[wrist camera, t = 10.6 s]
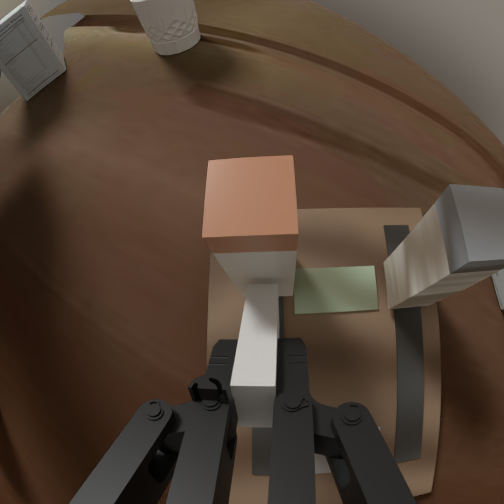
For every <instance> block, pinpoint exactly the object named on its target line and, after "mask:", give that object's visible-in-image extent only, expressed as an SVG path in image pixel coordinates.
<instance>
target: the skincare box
mask: <svg viewBox="0 0 504 504" xmlns="http://www.w3.org/2000/svg"><path fill="white" fill-rule="evenodd" d="M491 276H492V279H493V283H494V287H495V290H496V294H497V297H498V301H499V305H500V308H501V309H502V310H504V269H502V270H500V271H498V272H497V273H495V274H493V275H491Z"/></svg>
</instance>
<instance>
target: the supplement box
mask: <svg viewBox="0 0 504 504" xmlns="http://www.w3.org/2000/svg"><path fill="white" fill-rule="evenodd" d="M0 68H1V71H2V72H3V73H4V74H5V75H6V77H7V78H8V79H9V81H10V82H11V83H12V84H13V86H14V87H15V88H16V89H17V90H18V92H19V93H20V94H21V95H22V96H23V98H24V99H25V100H26V101H28V100H29V99H30V98H32V97H33V96H34V95H35V94H36V93H38V92H39V91H40V90H41V89H42V88H44V87H45V86H46V85H47V84H49V83H50V82H51V81H53V80H54V79H55V78H57V77H58V76H59V75H61V74H62V73H63V72H65V71H66V66H65V62H64V57H63V55H62V53H61V52H60V51H59V49H58V47H57V46H56V44H55V42H54V41H53V39H52V38H51V36H50V35H49V33H48V32H47V30H46V28H45V27H44V25H43V24H42V22H41V21H40V19H39V17H38V16H37V14H36V13H35V11H34V9H33V8H32V6H31V5H30V3H29V1H28V0H26V1H25V2H23V3H22V4H21V5H19V6H18V7H17V8H15V9H14V10H13V11H12V12H10V13H9V14H8V15H7V16H5V17H4V18H3V19H2V20H1V21H0Z"/></svg>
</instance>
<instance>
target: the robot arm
mask: <svg viewBox="0 0 504 504" xmlns="http://www.w3.org/2000/svg"><path fill="white" fill-rule="evenodd" d="M0 75H1V68H0ZM188 389H189V392H190V395H191V397H192V401H190V402H188V403H184V404H178V405H172V406H170V405H169V404H168V403H167V402H165V401H164V400H160V399H153V400H149V401H147V402H145V403H143V404H142V405H141V406H140V407H139V409H138V410H137V412H136V413H135V414H134V416H133V417H132V418H131V420H130V421H129V422H128V424H127V425H126V427H125V428H124V429H123V431H122V432H121V433H120V435H119V436H118V437H117V439H116V440H115V442H114V443H113V444H112V446H111V447H110V448H109V450H108V451H107V452H106V454H105V455H104V457H103V458H102V459H101V461H100V462H99V463H98V465H97V466H96V467H95V469H94V470H93V471H92V473H91V474H90V476H89V477H88V478H87V480H86V481H85V482H84V484H83V485H82V486H81V488H80V489H79V491H78V492H77V493H76V495H75V496H74V497H73V499H72V500H71V501H70V503H69V504H157V503H158V501H159V499H160V498H161V496H162V494H163V493H164V491H165V489H166V487H167V486H168V484H169V482H170V481H171V479H172V482H171V486H170V490H169V494H168V498H167V502H166V504H229V497H230V490H231V483H232V476H233V468H234V461H235V454H236V446H237V432H236V430H237V423H238V426H239V427H260V428H272V441H271V458H270V474H269V489H268V502H267V504H316V487H315V455H314V453H315V454H320V455H324V456H325V457H326V460H327V462H328V465H329V468H330V470H331V473H332V476H333V478H334V481H335V484H336V486H337V489H338V492H339V494H340V497H341V500H342V502H343V504H417V503H416V501H415V499H414V497H413V495H412V493H411V491H410V489H409V487H408V485H407V483H406V481H405V479H404V477H403V475H402V473H401V471H400V469H399V467H398V465H397V463H396V461H395V459H394V457H393V455H392V453H391V451H390V449H389V447H388V446H387V444H386V442H385V440H384V438H383V436H382V434H381V432H380V430H379V428H378V426H377V425H376V423H375V421H374V419H373V417H372V415H371V413H370V411H369V410H368V409H367V408H366V407H365V406H364V405H362V404H360V403H356V402H346V403H343V404H341V405H339V406H338V407H337V408H336V407H331V406H326V405H323V404H320V403H319V402H317V401H316V400H315V399H314V398H313V397H312V396H311V394H310V390H309V376H308V364H307V350H306V345H305V343H304V342H303V341H302V339H301V338H279V301H278V284H248V287H247V293H246V299H245V304H244V310H243V315H242V321H241V327H240V332H239V338H238V339H219V340H218V342H217V343H216V344H215V345H214V346H213V348H212V352H211V357H210V359H209V365H208V367H207V371H206V375H203V376H200V377H198V378H196V379H194V380H193V381H192V382H191V383H190V385H189V387H188ZM172 477H173V478H172Z"/></svg>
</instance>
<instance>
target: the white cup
mask: <svg viewBox="0 0 504 504" xmlns="http://www.w3.org/2000/svg"><path fill="white" fill-rule="evenodd" d="M130 2H131V4H132V6H133V8H134V10H135V12H136V14H137V16H138V18H139V21H140V23H141V25H142V27H143V28H144V30H145V32H146V35H147V36H148V38H149V39H150V41H151V43H152V45H153V48H154V50H155V52H156V53H158V54H160V55H173V54H177V53H181V52H183V51H185V50H188V49H190V48H191V47H193V46H194V45H196V44H197V43H198V41H199V40H200V38H201V37H200V33H199V28H198V20H197V13H196V8H195V3H194V0H130Z"/></svg>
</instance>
